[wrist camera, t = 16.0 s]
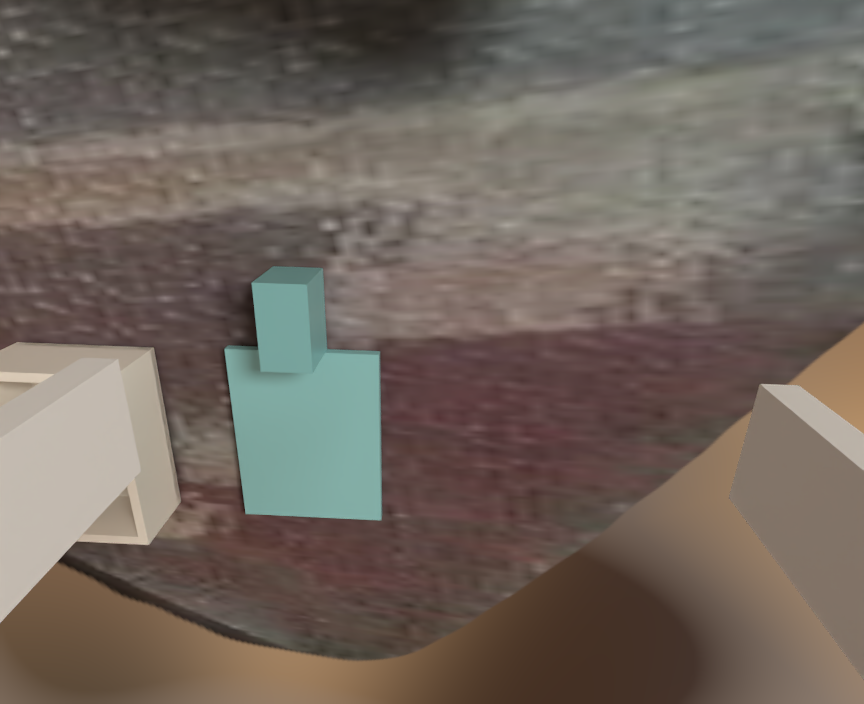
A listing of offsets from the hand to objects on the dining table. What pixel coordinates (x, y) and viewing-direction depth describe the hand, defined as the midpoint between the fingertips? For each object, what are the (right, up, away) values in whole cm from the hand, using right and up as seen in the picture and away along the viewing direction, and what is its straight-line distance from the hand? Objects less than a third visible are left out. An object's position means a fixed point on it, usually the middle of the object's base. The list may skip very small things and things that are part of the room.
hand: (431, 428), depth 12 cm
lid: (-11, -3, +37) cm, 39 cm away
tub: (-30, -5, +39) cm, 49 cm away
